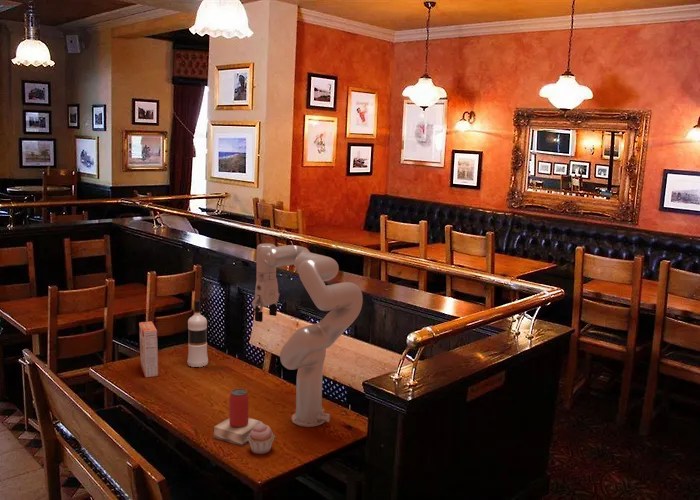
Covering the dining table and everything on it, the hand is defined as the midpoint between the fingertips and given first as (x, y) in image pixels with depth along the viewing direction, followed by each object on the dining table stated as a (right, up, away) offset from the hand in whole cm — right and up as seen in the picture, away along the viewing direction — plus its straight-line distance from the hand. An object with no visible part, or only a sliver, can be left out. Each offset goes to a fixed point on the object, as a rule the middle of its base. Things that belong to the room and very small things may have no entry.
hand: (265, 318), depth 257 cm
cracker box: (-55, -27, +30) cm, 68 cm away
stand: (-6, -38, -26) cm, 47 cm away
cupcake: (+3, -41, -36) cm, 54 cm away
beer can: (-6, -35, -26) cm, 44 cm away
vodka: (-36, -25, +40) cm, 60 cm away
